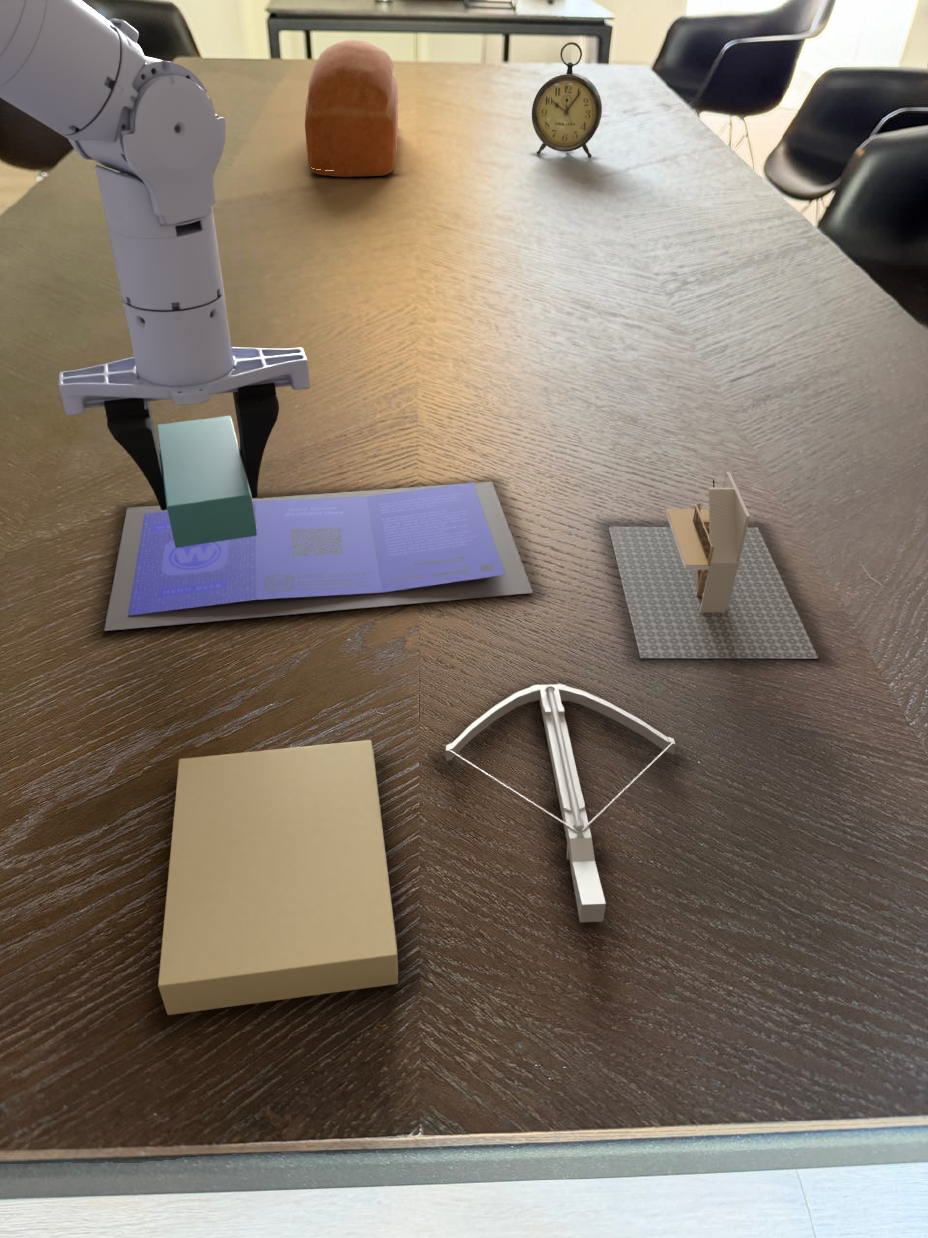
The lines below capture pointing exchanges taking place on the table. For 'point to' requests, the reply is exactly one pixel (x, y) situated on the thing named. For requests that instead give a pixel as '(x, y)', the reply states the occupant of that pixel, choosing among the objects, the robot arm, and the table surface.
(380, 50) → the bread
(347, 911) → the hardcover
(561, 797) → the crossbow
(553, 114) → the alarm clock
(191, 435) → the teal rectangular block
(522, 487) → the table surface
